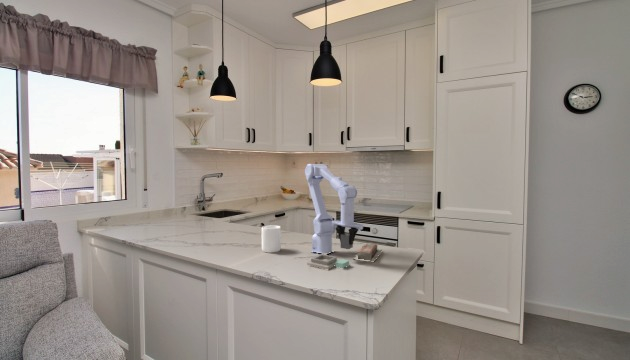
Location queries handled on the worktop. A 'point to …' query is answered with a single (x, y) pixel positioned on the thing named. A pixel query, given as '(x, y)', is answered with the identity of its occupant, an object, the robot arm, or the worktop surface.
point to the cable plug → (342, 263)
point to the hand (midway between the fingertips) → (346, 243)
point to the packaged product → (368, 252)
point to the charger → (345, 241)
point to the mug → (271, 238)
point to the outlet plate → (323, 261)
